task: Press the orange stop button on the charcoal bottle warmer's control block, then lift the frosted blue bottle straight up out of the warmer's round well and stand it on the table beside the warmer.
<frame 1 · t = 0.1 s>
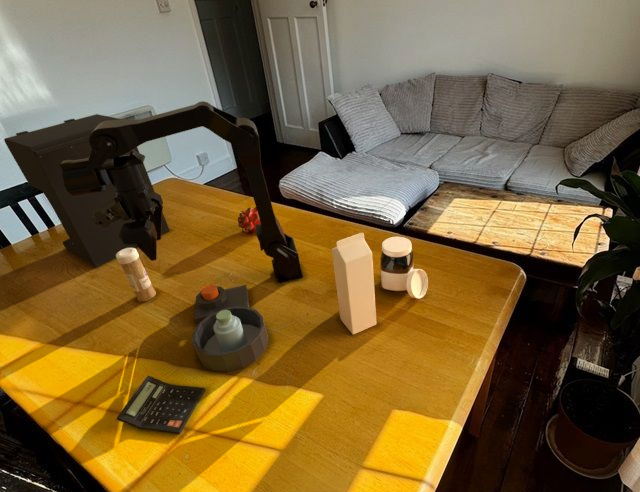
hand: (156, 249, 94), 15 cm above the table, tool pointing down, fingers open, 9 cm apart
milk: (358, 322, 91), on the table
bottle: (234, 345, 88), resting on bottle warmer
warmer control: (223, 308, 99), on the table
spread jar: (404, 287, 100), on the table
bottle warmer: (234, 346, 88), on the table
stop button: (209, 292, 96), point 5 cm above the table, slide at 0.2 cm
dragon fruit: (258, 230, 129), on the table
calculator: (165, 409, 76), on the table
dark brown slanted box: (125, 237, 131), on the table
sprinkles bottle: (147, 297, 105), on the table
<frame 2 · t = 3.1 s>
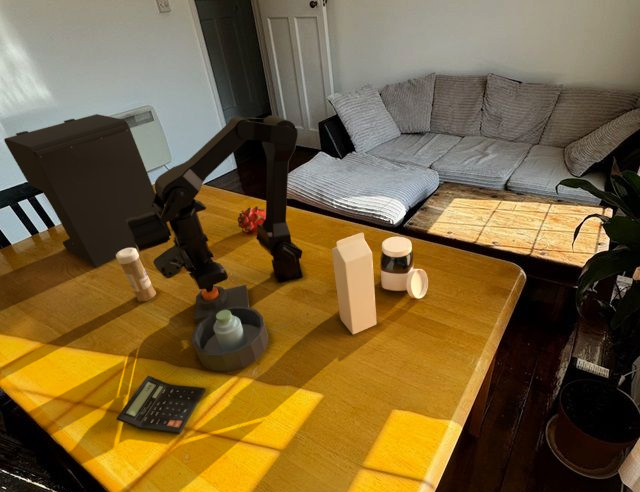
hand: (209, 291, 96), 5 cm above the table, tool pointing down, fingers closed, pressing on stop button
stop button: (210, 294, 97), point 4 cm above the table, slide at -0.4 cm, touching gripper
everything else where it was.
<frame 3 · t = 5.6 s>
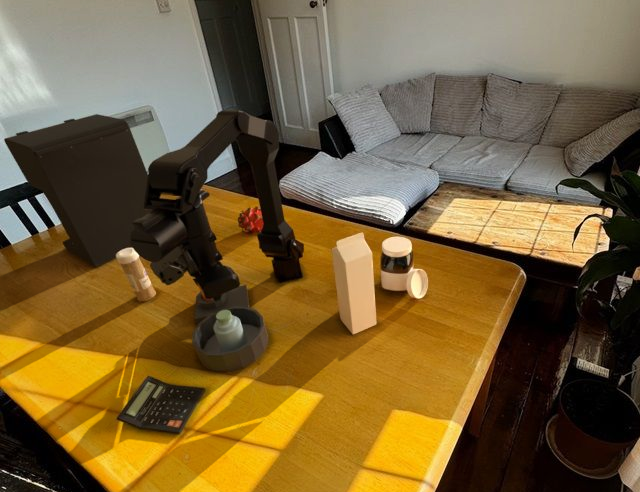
hand: (217, 299, 81), 13 cm above the table, tool pointing down, fingers closed
stop button: (209, 292, 96), point 5 cm above the table, slide at 0.2 cm
everything else where it was.
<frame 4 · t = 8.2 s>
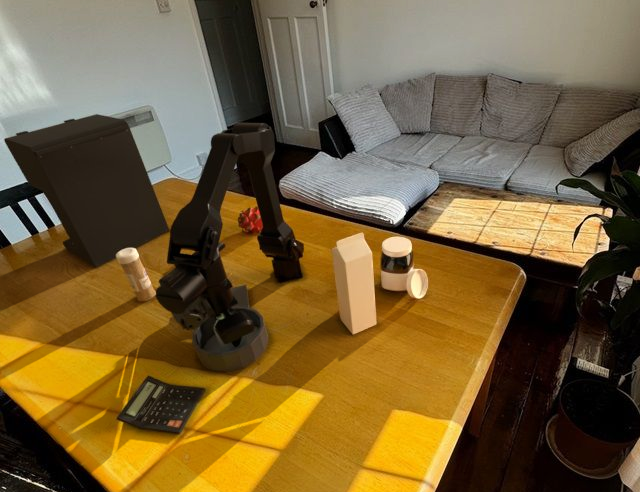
hand: (231, 338, 87), 2 cm above the table, tool pointing down, fingers closed on bottle, 5 cm apart
bottle: (234, 345, 88), resting on bottle warmer, touching gripper
everything else where it was.
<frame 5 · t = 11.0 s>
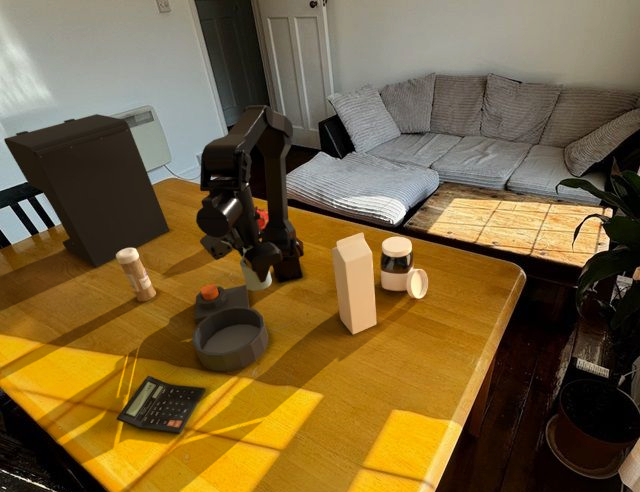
hand: (257, 275, 87), 12 cm above the table, tool pointing down, fingers closed on bottle, 5 cm apart
bottle: (259, 283, 89), point 10 cm above the table, touching gripper
everything else where it was.
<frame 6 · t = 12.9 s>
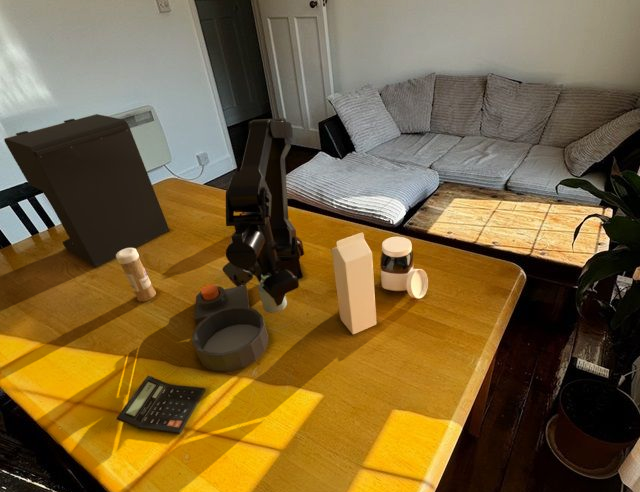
hand: (273, 298, 94), 4 cm above the table, tool pointing down, fingers closed on bottle, 5 cm apart
bottle: (275, 305, 95), point 2 cm above the table, touching gripper
everything else where it was.
when the fingers open (2 cm above the table, at t = 14.0 s): bottle stays where it is, on the table.
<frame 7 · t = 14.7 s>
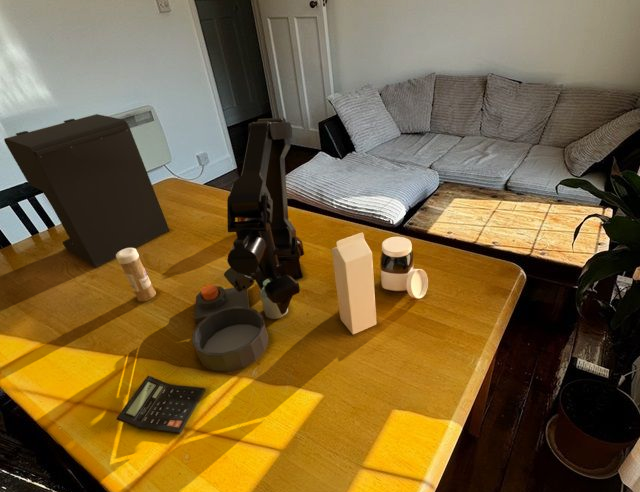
hand: (274, 303, 95), 3 cm above the table, tool pointing down, fingers open, 9 cm apart
bottle: (276, 311, 96), on the table
everything else where it was.
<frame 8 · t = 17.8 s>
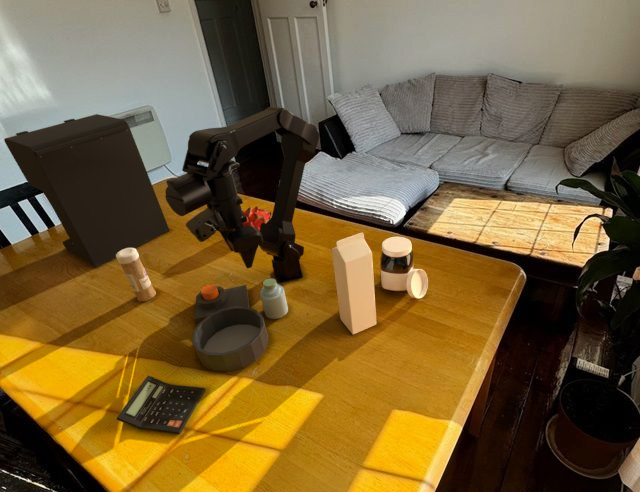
hand: (241, 258, 93), 13 cm above the table, tool pointing down, fingers open, 9 cm apart
nothing on the table moved.
at the end: stop button pushed in 1.1 cm at the most during the clip, back to 0.2 cm at the end; bottle inside the target area (0.0 cm from its centre), on the table; bottle tilted 0° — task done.
